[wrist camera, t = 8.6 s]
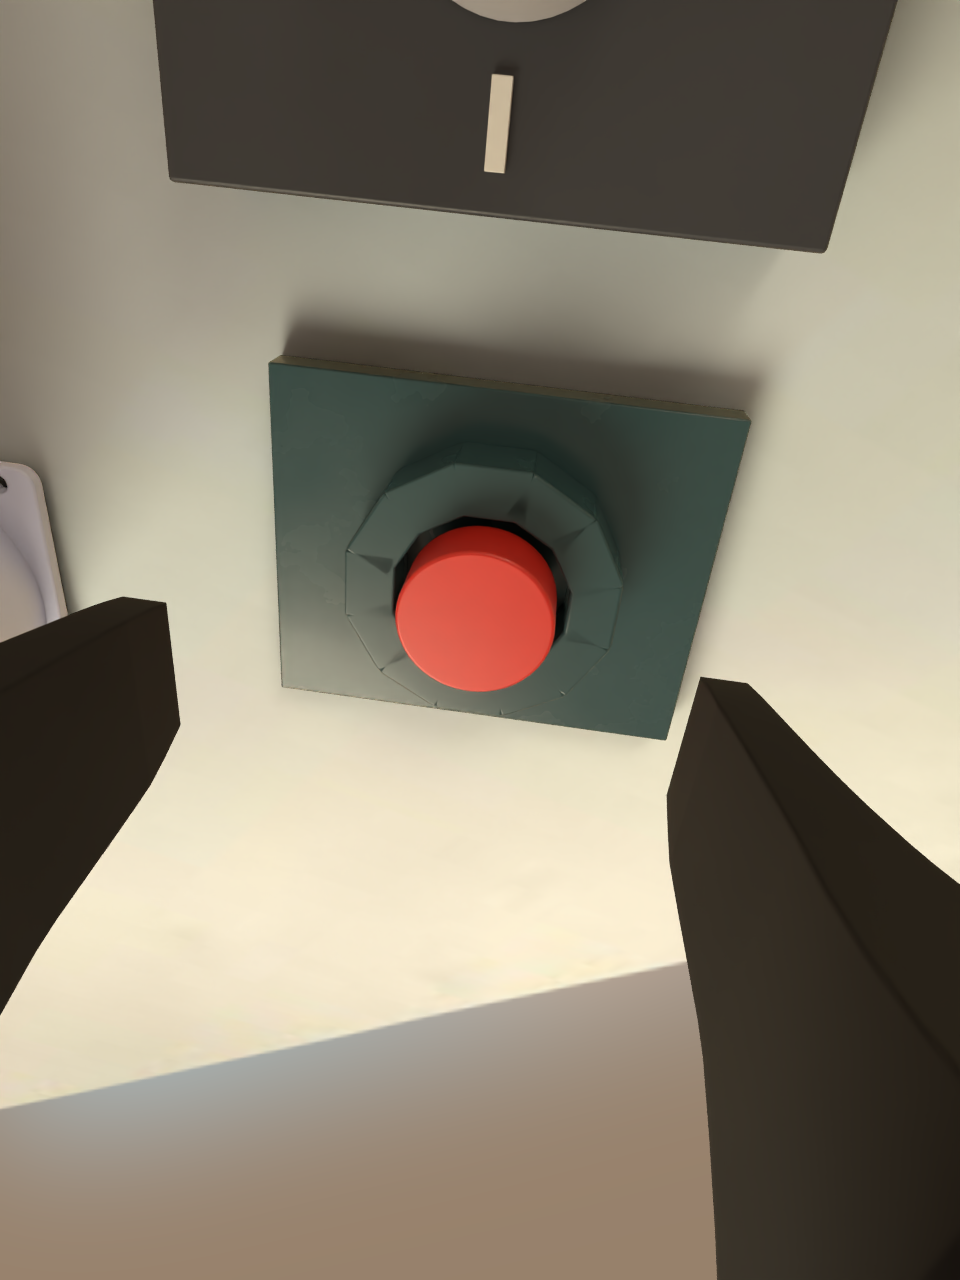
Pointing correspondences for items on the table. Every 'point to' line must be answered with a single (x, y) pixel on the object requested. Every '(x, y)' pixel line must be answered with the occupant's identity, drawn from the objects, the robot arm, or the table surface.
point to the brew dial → (518, 8)
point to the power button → (477, 609)
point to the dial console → (532, 109)
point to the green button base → (502, 498)
